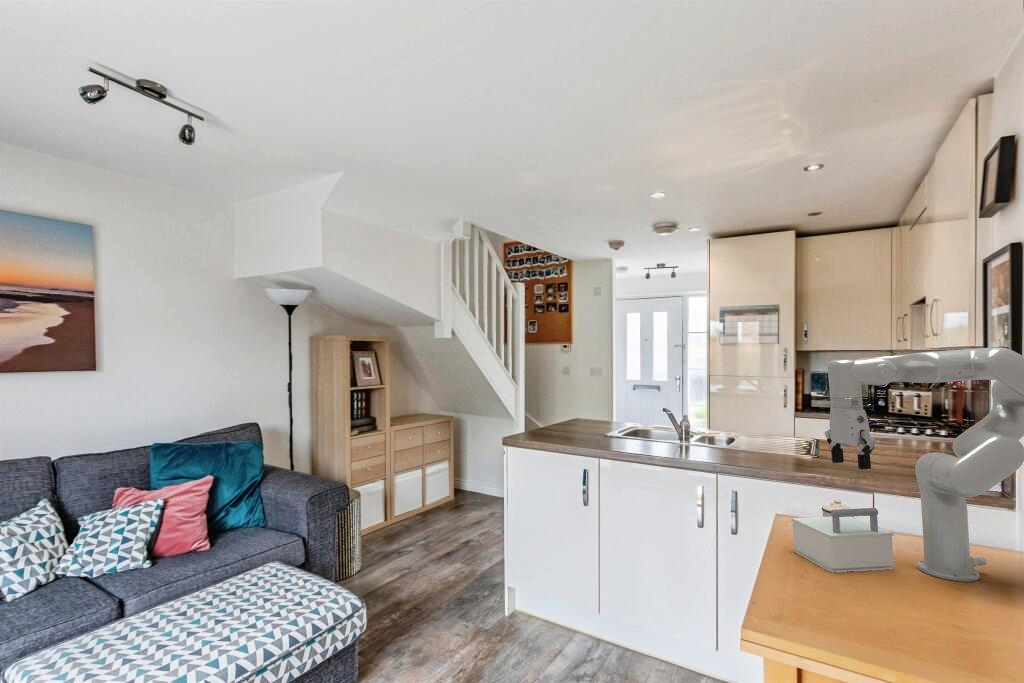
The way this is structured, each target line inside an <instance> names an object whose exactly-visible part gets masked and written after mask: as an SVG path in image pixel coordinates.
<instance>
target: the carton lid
mask: <svg viewBox="0 0 1024 683" xmlns="http://www.w3.org/2000/svg"><path fill="white" fill-rule="evenodd" d="M831 515H832V517H823V516H817V517H816V516H815V517H813V516H812V517H795V518H794V517H791V518H792V519H791V521H792V523H793V522H795V523H797V524H799V525H802V526H804V527H806V528H808V529H810V530H812V531H814V532H817V533H819V534H821V535H823V536H825V537H827V538H830V539H841V538H861V537H880V536H892V537H894V534H895V533H894V532H892V531H890V530H887V529H884V528H882V527H879V524H878V515H879V510H878V508H876V507H866V508H864V507H863V508H861V507H860V508H852V509H837V510H831ZM852 516H854V518H853V517H852ZM868 516H869V523H868V522H866V521H863V520H861V519H858V518H855V517H868Z"/></svg>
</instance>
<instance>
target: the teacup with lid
mask: <svg viewBox="0 0 1024 683" xmlns="http://www.w3.org/2000/svg"><path fill="white" fill-rule="evenodd" d="M837 509H853V508H852V507H850V506H847V505H846V504H844V503H842V501H841V500H839V499H833V502H830V503H828V504H823V505H822V506H821V510H822V517H832V515H831V510H837ZM852 517H853V518H855V516H852Z"/></svg>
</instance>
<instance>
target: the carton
mask: <svg viewBox="0 0 1024 683" xmlns="http://www.w3.org/2000/svg"><path fill="white" fill-rule="evenodd" d="M792 533H793V535H792V540H793V552H794V553H796V554H797V555H799V556H801V557H802V558H805V559H806V560H808V561H810V562H812V563H813V564H815V565H817V566H818V567H820V568H822V569H824V570H826V571H828V572H829V573H831V572H832V573H831V574H834V573H833V572H837V573H850V572H849V571H854V572H868V571H869V570H870V571H871V570H872V571H887V570H886V569H889V570H894V553H893V552H894V550H893V549H894V548H893V536H880V537H861V538H841V539H830V538H827V537H825V536H823V535H821V534H819V533H817V532H814V531H812V530H810V529H808V528H806V527H804V526H802V525H799V524H797V523H795V522H793V521H792ZM847 571H848V572H847ZM870 571H869V572H870Z"/></svg>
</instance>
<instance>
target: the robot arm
mask: <svg viewBox="0 0 1024 683" xmlns="http://www.w3.org/2000/svg"><path fill="white" fill-rule="evenodd" d="M827 375H828V386H829V399H830V400H829V402H830V411H829V429H827V430H826V431H824V436H825V437H826V441H827V443H828V444H829V446H828V447H829V449H830V452H831V462H832V463H833V464H841V463H842V464H843V463H844V461H845V460H844V450H843V448H842V446H843V445H844V446H848V447H849V446H850V447H855V449H856V451H857V452H858V454H857V468H858V469H859V470H870V469H872V463H871V455H872V453H873V450H874V449H875V445H876V442H877V439H876V438H874V437H873V436H872V435H871V431H870V424H869V419H868V416H867V412H866V410H865V409H864V406H863V395H862V393H863V392H862V385H870V386H871V385H872V386H885V385H887V384H890V383H918V384H934V383H935V384H938V383H947V382H949V383H950V382H966V381H980V380H982V381H983V380H989V381H990V380H991V381H994V383H993V384H992V386H991V396H992V407H991V410H990V412H989V413H988V414H987V415H986V416H985V417H983V418H982V419H980V420H979V421H978V422H976V423H974V425H972V426H970V427H969V428H968V429H966V430H965V431H964V432H962V433H961V434H959V435H958V436H956V437H955V439H954V440H953V442H952V450H953V452H954V454H955V455H953V454H948V453H942V452H928V453H925V454H922V455H921V456H920V457H919V458H918V459H917V461H916V464H915V469H914V470H915V471H914V472H915V477H916V481H917V484H918V489H919V494H920V504H921V505H920V506H921V507H920V508H921V524H922V525H921V526H922V540H923V541H922V542H923V559H921V560H918V562H917V568H918V569H919V570H920V571H921V572H923V573H925V574H927V575H930V576H933V577H936V578H940V579H944V580H948V581H949V580H950V581H955V582H966V583H967V582H976V581H978V580H979V579H980V572H978V571H977V570H975V568H976V567H977V566H978V567H981V566H986V565H987V560H986V558H984V557H975V558H974V557H972V556H971V550H970V534H969V517H968V516H969V515H968V506H967V501H966V498H974V497H978V496H980V495H982V494H984V493H986V492H988V491H989V490H991V489H992V488H994V487H996V485H998V484H1000V483H1001V482H1002V481H1004V480H1006V478H1008V477H1010V476H1011V475H1012V474H1014V473H1015V472H1017V471H1018V470H1019V469H1020V468H1021V466H1022V465H1023V463H1024V445H1023V443H1022V442H1020V440H1021V439H1022V438H1023V437H1024V356H1023V355H1022V354H1020V353H1018V352H1017V351H1015V350H1013V349H1009V348H1006V347H1001V346H1000V347H999V346H998V347H980V348H967V349H966V348H964V349H963V348H962V349H951V350H939V351H936V350H935V351H925V352H916V353H909V354H902V355H900V354H899V355H892V356H888V355H887V356H876V357H875V356H874V357H862V358H861V357H860V358H857V359H855V360H854V359H834V360H830V361H829V362H828V364H827Z"/></svg>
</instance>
